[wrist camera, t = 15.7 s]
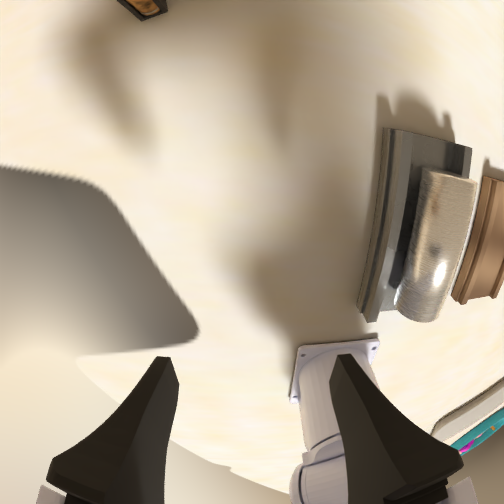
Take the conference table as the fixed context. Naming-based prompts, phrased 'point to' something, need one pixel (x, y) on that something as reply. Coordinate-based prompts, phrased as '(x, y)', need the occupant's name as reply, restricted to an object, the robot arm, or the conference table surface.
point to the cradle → (401, 210)
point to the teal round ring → (479, 433)
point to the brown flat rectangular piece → (484, 247)
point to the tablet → (469, 413)
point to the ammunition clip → (145, 8)
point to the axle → (435, 243)
